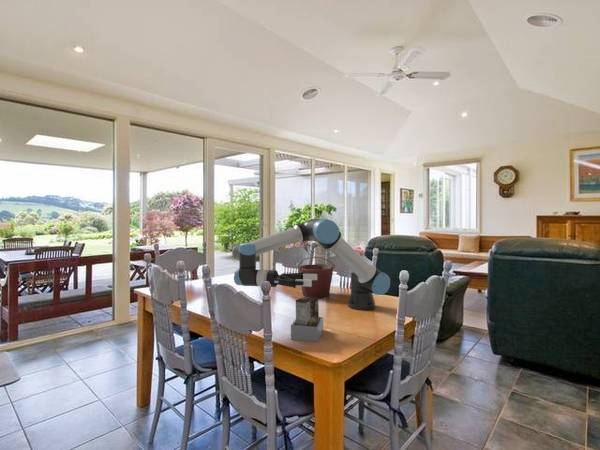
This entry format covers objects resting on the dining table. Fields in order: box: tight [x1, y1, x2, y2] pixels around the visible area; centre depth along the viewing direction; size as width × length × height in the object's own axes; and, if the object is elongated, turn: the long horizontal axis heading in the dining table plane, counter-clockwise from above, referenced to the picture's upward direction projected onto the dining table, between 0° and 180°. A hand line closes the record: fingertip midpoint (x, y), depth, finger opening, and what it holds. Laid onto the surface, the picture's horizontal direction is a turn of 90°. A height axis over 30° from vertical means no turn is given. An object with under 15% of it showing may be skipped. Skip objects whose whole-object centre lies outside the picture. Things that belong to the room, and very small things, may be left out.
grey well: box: [290, 316, 324, 342], centre depth 156 cm, size 12×15×6 cm
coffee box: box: [295, 296, 320, 327], centre depth 155 cm, size 9×6×16 cm
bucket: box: [295, 256, 336, 300], centre depth 227 cm, size 24×22×25 cm
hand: (314, 280), depth 154 cm, fingers open, 13 cm apart
